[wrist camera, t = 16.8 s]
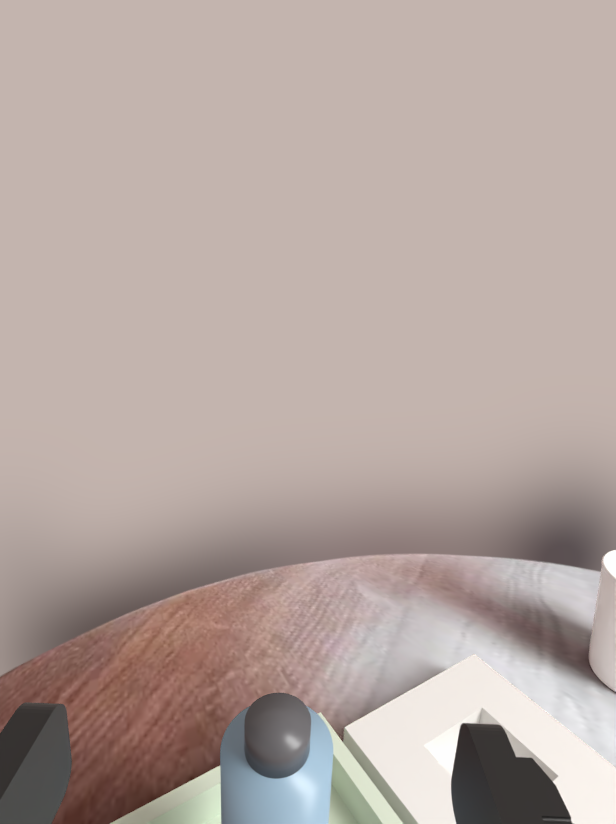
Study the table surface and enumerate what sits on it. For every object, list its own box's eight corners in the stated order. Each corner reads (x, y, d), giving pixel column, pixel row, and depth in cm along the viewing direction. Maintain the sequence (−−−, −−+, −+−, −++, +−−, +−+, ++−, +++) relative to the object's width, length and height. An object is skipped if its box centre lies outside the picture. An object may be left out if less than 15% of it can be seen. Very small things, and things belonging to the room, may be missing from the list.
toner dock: (341, 760, 41) (344, 727, 40) (469, 683, 49) (474, 653, 48) (507, 992, 28) (516, 951, 27) (642, 833, 36) (653, 797, 35)
